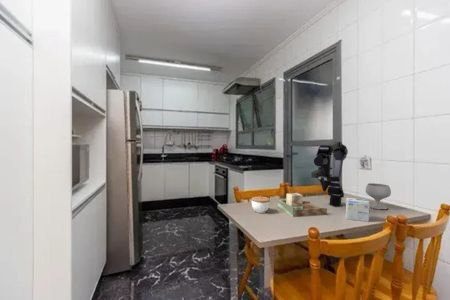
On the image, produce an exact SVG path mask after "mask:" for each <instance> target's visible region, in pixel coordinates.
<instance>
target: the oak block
mask: <svg viewBox="0 0 450 300" xmlns="http://www.w3.org/2000/svg"><path fill="white" fill-rule="evenodd" d="M303 197H304V196H303V194H301V193H298V192H291V193H290V192H289V193H286V197H285V200H286V203H287V204H289V205H291V206H293V207H302V201H303Z"/></svg>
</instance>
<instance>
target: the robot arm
mask: <svg viewBox="0 0 450 300" xmlns="http://www.w3.org/2000/svg"><path fill="white" fill-rule="evenodd" d="M348 150H349V149H348V148H347V146H346V145H345V144H343V142H342V141H333V142H330V143H328V144H321V145H319V146H318V149H317V152H316V157H314V159H313V164H314V165H315V166H317V169H315V170H312V171H311V172H310V173H311V178H313V179H314V178H315V179H317V180H318V181H319V182H320V185H321V188H322V191H323V192H326V191H327V195H328V196H329V197H330V198H329V203H328V205H329V206H333V207H343V204H342V198H344V197H345V192H344V189H343V185H342V183H341V179H342V171H343V163H344V160H346V158H347V155H348V153H349V151H348ZM332 156H333V157H334V167H331V164H332V163H331V161H332ZM331 170H333V173H332V174H331ZM317 180H316V181H317Z"/></svg>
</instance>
